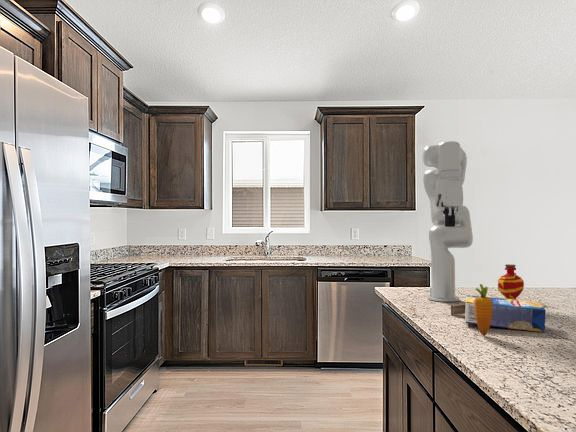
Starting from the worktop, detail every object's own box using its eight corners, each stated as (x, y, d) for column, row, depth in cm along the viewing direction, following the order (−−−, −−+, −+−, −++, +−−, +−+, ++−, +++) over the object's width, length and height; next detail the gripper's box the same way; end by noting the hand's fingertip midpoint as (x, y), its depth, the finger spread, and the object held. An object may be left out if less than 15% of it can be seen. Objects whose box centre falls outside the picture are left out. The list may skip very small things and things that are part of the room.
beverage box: (465, 314, 150) (538, 323, 141) (465, 323, 139) (544, 332, 131) (466, 295, 149) (539, 302, 141) (466, 301, 139) (545, 310, 131)
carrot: (491, 339, 125) (491, 286, 125) (473, 336, 127) (472, 285, 128) (494, 335, 129) (493, 284, 129) (476, 332, 132) (475, 282, 132)
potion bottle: (528, 303, 177) (527, 266, 178) (501, 302, 180) (500, 265, 180) (520, 298, 188) (519, 263, 188) (494, 298, 190) (493, 263, 190)
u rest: (450, 315, 156) (450, 305, 156) (481, 310, 164) (481, 301, 164) (492, 324, 141) (492, 314, 141) (524, 319, 149) (523, 309, 149)
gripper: (455, 177, 166) (456, 226, 166) (426, 176, 159) (427, 227, 159) (472, 175, 159) (472, 226, 159) (442, 174, 152) (443, 227, 152)
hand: (450, 226), depth 159 cm, fingers closed
